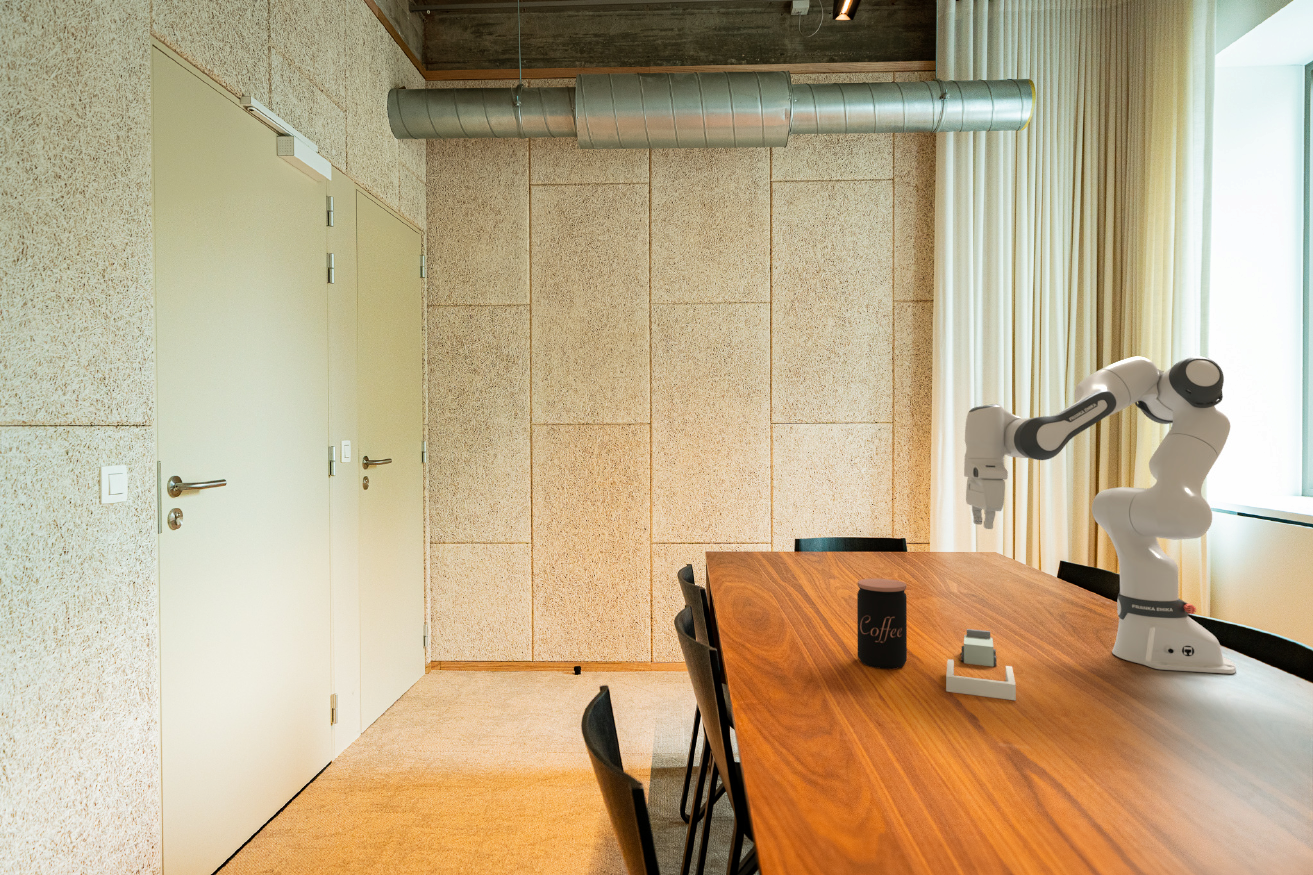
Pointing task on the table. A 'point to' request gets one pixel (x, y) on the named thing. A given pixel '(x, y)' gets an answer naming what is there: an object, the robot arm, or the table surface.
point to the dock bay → (981, 684)
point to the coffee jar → (882, 623)
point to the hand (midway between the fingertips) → (982, 526)
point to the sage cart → (978, 648)
